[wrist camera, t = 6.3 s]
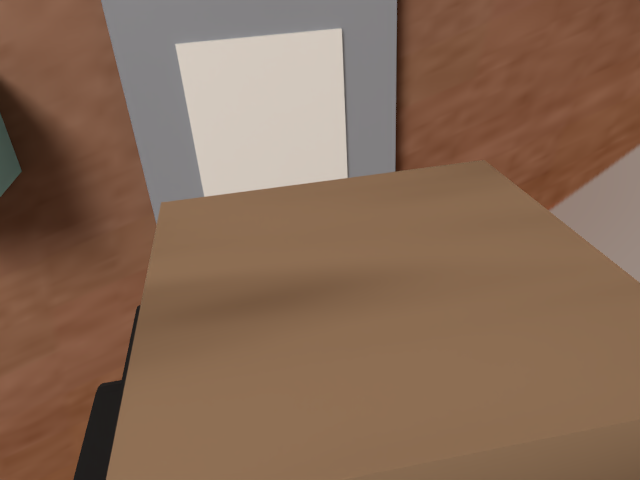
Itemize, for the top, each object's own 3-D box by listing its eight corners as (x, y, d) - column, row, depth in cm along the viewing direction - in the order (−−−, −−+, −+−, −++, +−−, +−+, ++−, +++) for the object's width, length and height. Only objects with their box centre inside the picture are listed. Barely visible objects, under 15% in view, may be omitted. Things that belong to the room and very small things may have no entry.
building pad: (389, 224, 29) (395, 234, 28) (168, 255, 27) (166, 267, 26) (390, -70, 22) (399, -71, 21) (94, -49, 20) (87, -48, 19)
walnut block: (461, 389, 13) (627, 683, 8) (216, 434, 12) (219, 793, 7) (484, 159, 10) (777, 391, 5) (161, 202, 9) (95, 530, 4)
